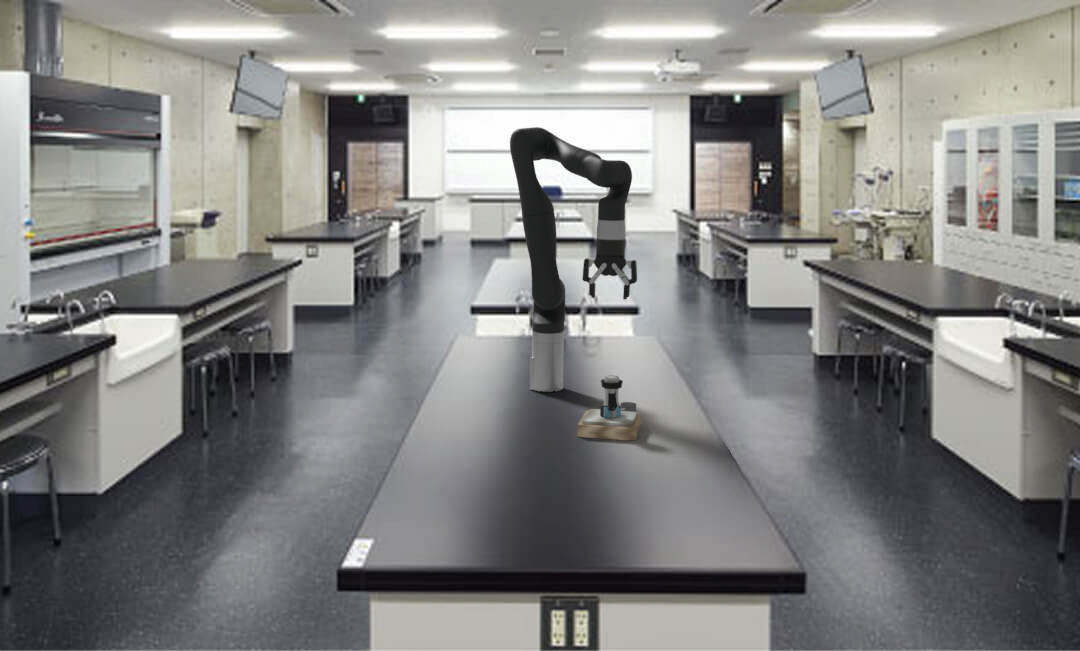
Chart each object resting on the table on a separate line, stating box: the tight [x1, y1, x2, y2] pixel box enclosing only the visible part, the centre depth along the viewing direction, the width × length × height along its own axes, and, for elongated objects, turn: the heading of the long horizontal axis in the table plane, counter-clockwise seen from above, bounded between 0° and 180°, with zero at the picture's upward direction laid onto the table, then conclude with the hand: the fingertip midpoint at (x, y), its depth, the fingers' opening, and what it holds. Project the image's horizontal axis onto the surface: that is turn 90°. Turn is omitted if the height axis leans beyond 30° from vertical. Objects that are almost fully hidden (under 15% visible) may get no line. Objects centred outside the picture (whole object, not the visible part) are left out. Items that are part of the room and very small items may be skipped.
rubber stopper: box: [620, 401, 637, 412], centre depth 250 cm, size 4×4×4 cm
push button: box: [599, 374, 625, 418], centre depth 237 cm, size 7×5×10 cm
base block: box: [576, 408, 642, 441], centre depth 238 cm, size 14×14×4 cm
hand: (609, 298), depth 255 cm, fingers open, 8 cm apart
